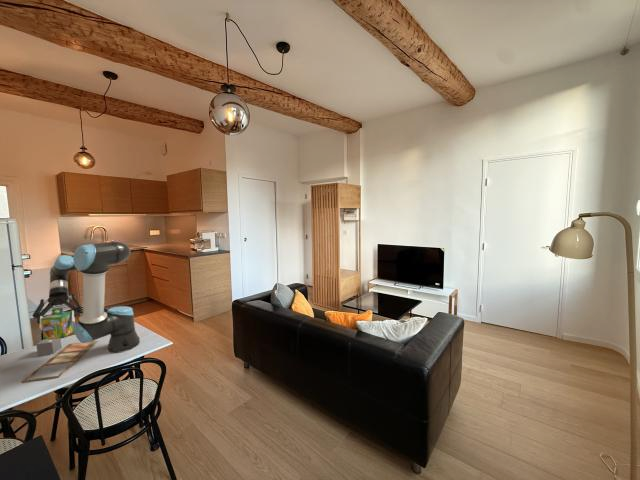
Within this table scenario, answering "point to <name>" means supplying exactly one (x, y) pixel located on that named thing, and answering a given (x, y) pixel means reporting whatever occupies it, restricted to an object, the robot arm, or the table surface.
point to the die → (48, 346)
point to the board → (64, 358)
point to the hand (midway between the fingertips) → (57, 325)
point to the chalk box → (57, 324)
